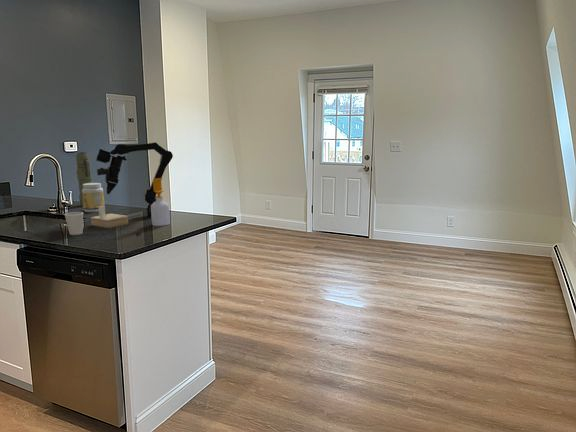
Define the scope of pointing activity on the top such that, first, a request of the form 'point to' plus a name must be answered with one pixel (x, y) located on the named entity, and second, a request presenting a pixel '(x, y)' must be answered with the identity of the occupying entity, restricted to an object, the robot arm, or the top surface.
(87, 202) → the supplement tub
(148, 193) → the robot arm
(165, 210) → the soap bottle
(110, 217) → the carton lid
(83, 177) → the green cactus
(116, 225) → the carton
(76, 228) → the dixie cup
